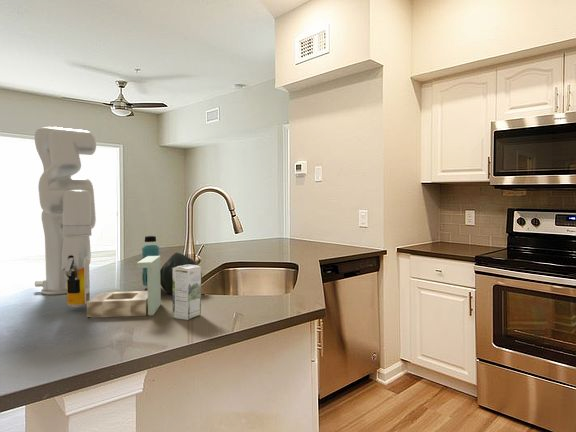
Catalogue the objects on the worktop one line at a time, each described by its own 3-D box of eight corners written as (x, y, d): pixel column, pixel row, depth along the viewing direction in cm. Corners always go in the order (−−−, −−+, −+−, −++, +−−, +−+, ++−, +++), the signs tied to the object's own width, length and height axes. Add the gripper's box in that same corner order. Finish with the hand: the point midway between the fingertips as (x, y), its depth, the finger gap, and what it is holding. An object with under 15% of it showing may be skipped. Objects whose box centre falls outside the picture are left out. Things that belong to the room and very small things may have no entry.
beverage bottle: (163, 286, 151) (162, 235, 151) (155, 290, 145) (154, 236, 144) (147, 286, 152) (146, 235, 151) (138, 290, 145) (138, 236, 145)
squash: (201, 281, 134) (200, 245, 143) (155, 285, 131) (157, 248, 140) (203, 301, 145) (201, 266, 154) (161, 305, 142) (162, 269, 151)
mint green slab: (137, 316, 111) (136, 262, 111) (148, 304, 125) (147, 256, 125) (152, 316, 112) (151, 262, 111) (161, 303, 126) (160, 255, 125)
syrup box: (185, 312, 115) (185, 263, 115) (201, 315, 113) (201, 265, 112) (172, 318, 110) (171, 266, 109) (188, 320, 107) (188, 268, 107)
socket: (87, 317, 110) (86, 302, 110) (101, 306, 122) (101, 292, 122) (145, 315, 113) (145, 299, 112) (154, 304, 125) (154, 290, 124)
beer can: (72, 301, 121) (72, 254, 120) (93, 301, 122) (92, 254, 121) (63, 307, 115) (62, 257, 114) (84, 307, 116) (83, 257, 115)
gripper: (75, 228, 125) (76, 283, 126) (50, 234, 108) (51, 298, 109) (100, 228, 126) (101, 283, 127) (79, 234, 109) (80, 297, 110)
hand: (78, 289), depth 118 cm, fingers closed on beer can, 6 cm apart
